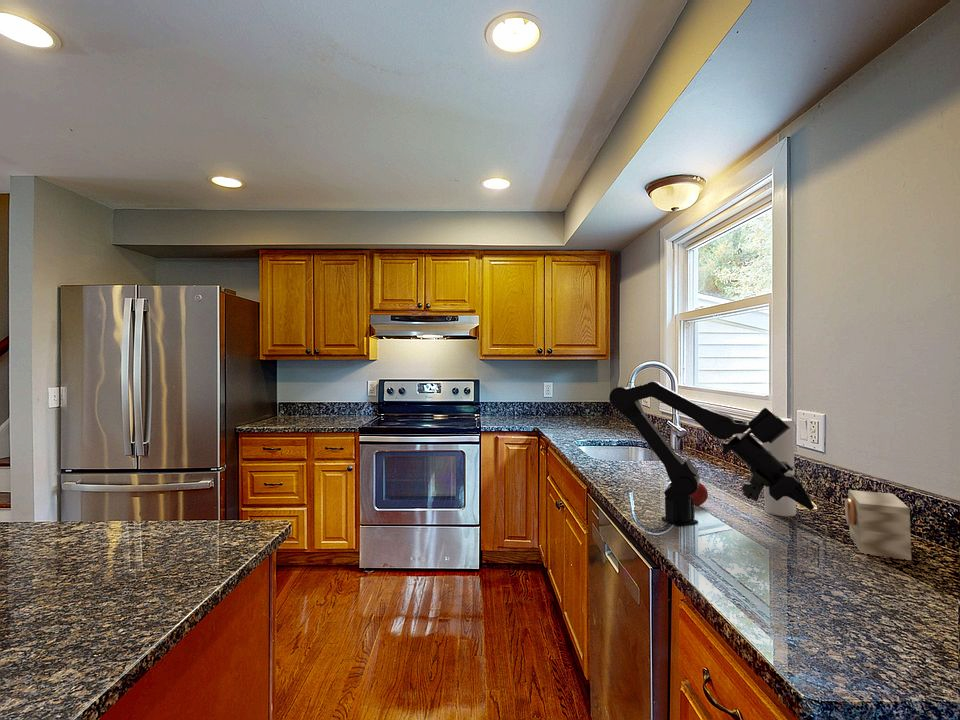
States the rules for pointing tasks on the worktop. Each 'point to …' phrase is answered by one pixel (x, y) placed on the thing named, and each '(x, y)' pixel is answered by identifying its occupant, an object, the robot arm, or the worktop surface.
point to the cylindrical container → (785, 453)
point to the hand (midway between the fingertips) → (812, 508)
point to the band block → (881, 525)
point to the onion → (699, 495)
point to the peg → (850, 511)
